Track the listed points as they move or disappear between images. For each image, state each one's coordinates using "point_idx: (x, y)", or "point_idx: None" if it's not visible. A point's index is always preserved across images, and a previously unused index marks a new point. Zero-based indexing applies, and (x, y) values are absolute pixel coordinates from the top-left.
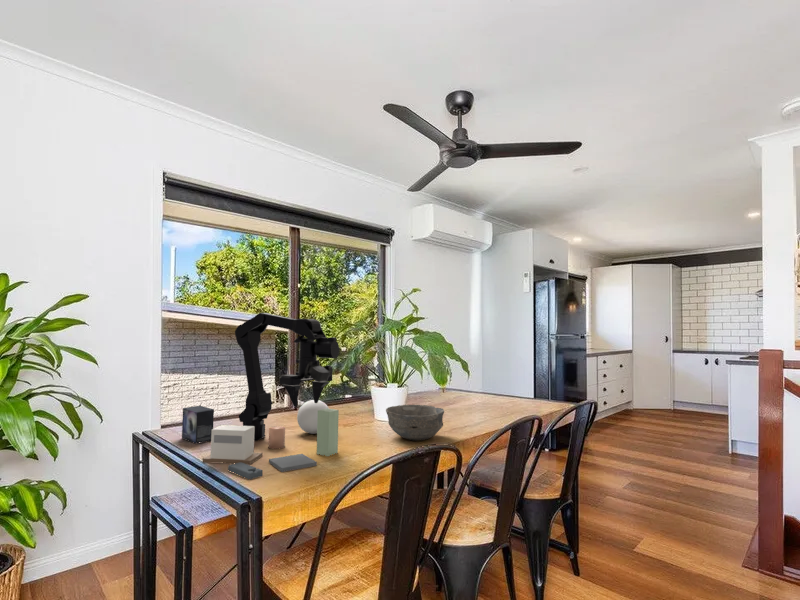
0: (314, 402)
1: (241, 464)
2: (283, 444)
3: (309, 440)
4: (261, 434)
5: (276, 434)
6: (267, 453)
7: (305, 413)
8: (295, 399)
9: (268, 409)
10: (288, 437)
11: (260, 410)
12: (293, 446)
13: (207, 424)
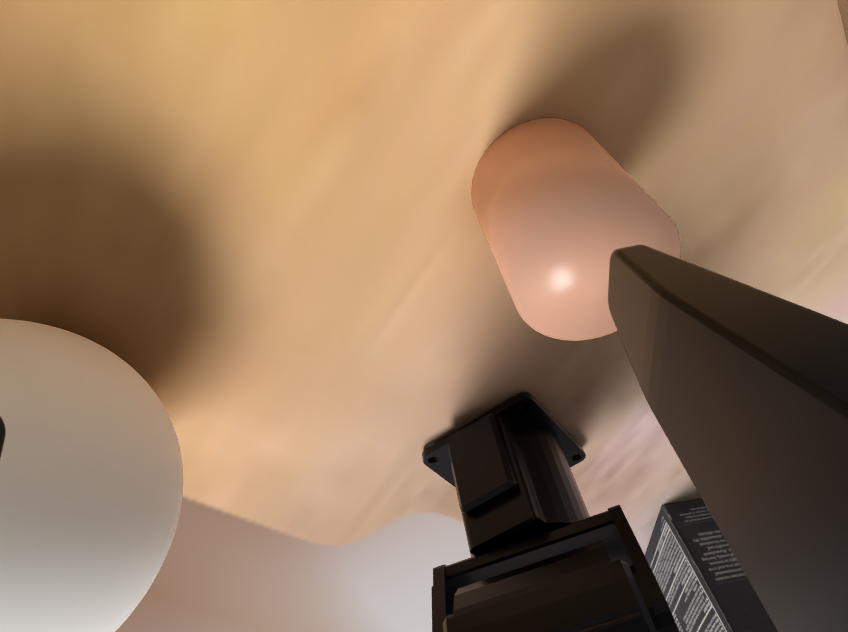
0: (5, 430)
1: None
2: (523, 136)
3: (188, 194)
4: (497, 431)
5: (636, 184)
6: (730, 41)
7: (116, 496)
8: (809, 309)
9: (487, 613)
10: (300, 369)
11: (611, 582)
12: (427, 99)
13: (748, 586)
